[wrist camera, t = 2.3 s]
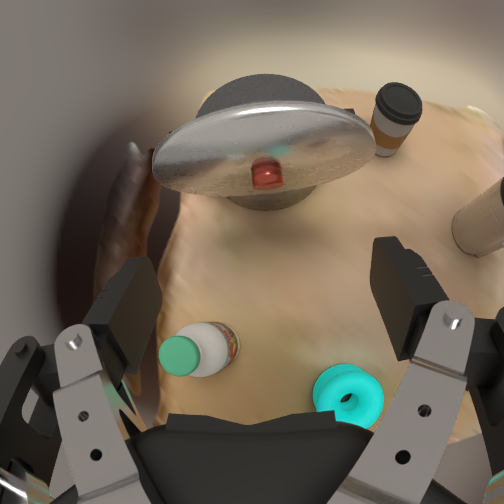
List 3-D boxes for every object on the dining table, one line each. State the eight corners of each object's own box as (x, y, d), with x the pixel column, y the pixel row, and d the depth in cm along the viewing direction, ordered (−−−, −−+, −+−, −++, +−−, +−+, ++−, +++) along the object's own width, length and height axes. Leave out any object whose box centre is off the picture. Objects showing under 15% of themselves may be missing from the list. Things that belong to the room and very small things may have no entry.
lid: (191, 196, 44) (193, 218, 44) (108, 132, 21) (106, 172, 21) (348, 177, 42) (351, 199, 42) (405, 93, 19) (417, 132, 18)
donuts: (383, 433, 35) (315, 440, 36) (367, 415, 45) (311, 419, 46) (388, 369, 37) (318, 374, 38) (370, 360, 47) (312, 364, 48)
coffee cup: (393, 169, 54) (419, 126, 39) (356, 149, 55) (371, 102, 41) (405, 139, 55) (428, 95, 40) (369, 121, 56) (385, 73, 42)
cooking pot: (189, 221, 56) (165, 196, 44) (189, 125, 61) (171, 90, 49) (358, 201, 53) (373, 171, 41) (333, 107, 58) (339, 68, 46)
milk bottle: (219, 375, 49) (179, 404, 30) (187, 343, 51) (132, 353, 32) (250, 343, 50) (226, 358, 31) (217, 312, 52) (175, 306, 32)
